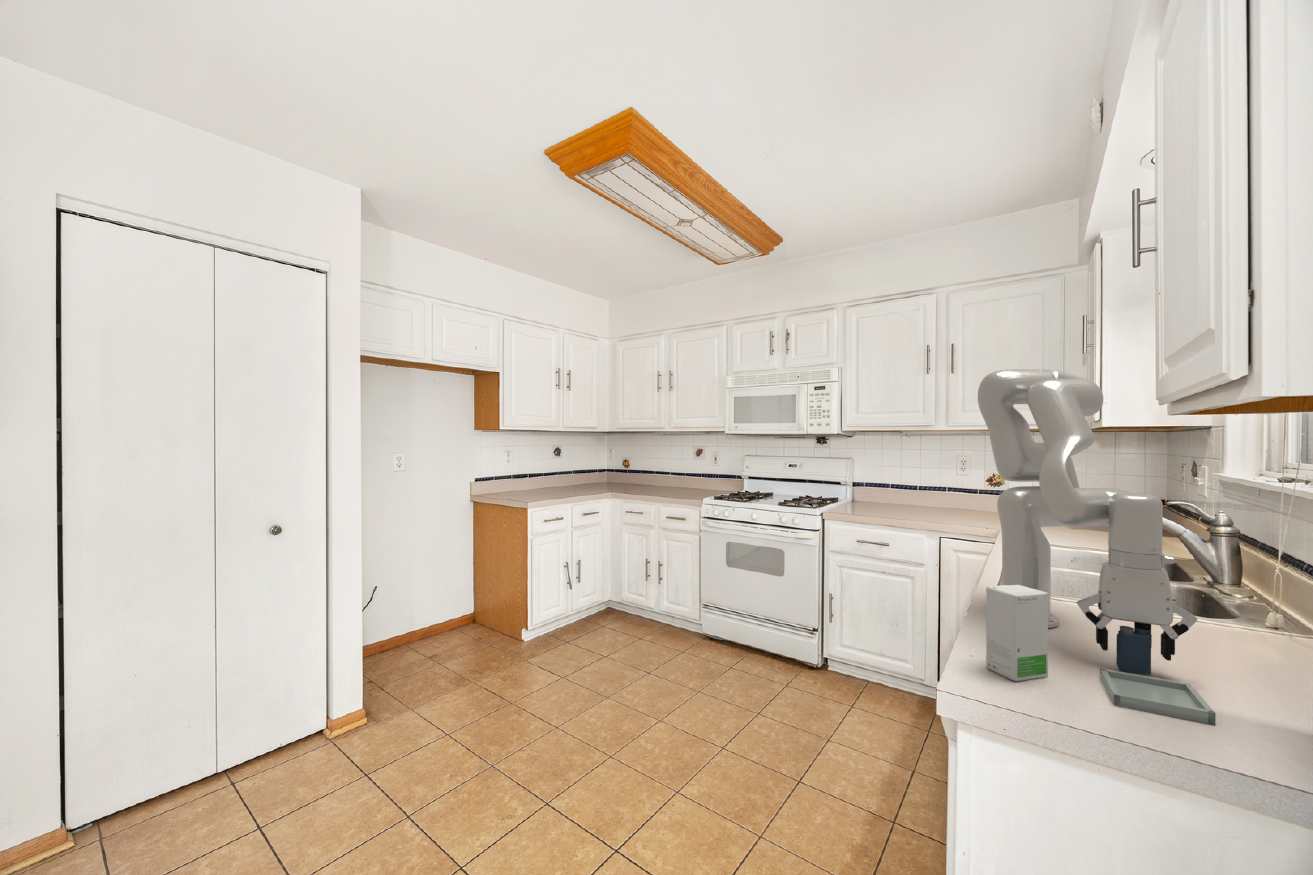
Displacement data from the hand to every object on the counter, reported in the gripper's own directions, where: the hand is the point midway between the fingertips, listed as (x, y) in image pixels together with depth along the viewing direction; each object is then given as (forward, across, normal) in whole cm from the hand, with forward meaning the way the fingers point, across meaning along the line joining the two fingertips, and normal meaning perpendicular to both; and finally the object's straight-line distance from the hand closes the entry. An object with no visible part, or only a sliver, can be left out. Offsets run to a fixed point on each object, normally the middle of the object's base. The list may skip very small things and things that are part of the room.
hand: (1134, 652), depth 100 cm
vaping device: (+4, 0, 0) cm, 4 cm away
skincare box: (+4, +19, +11) cm, 22 cm away
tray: (+4, 0, +12) cm, 13 cm away
